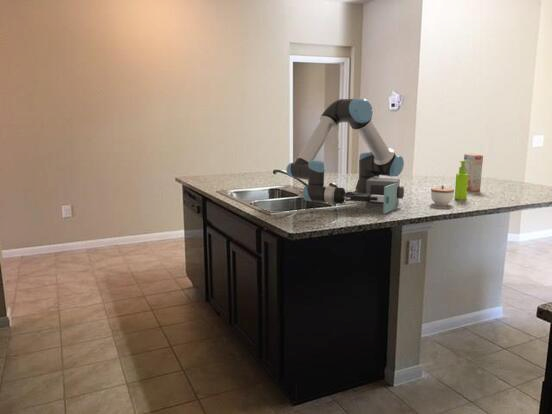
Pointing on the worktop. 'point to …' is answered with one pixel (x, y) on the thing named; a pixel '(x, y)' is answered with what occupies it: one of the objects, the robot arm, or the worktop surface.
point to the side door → (390, 198)
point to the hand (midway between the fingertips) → (385, 198)
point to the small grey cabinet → (382, 189)
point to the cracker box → (473, 171)
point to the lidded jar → (442, 195)
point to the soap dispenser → (461, 182)
